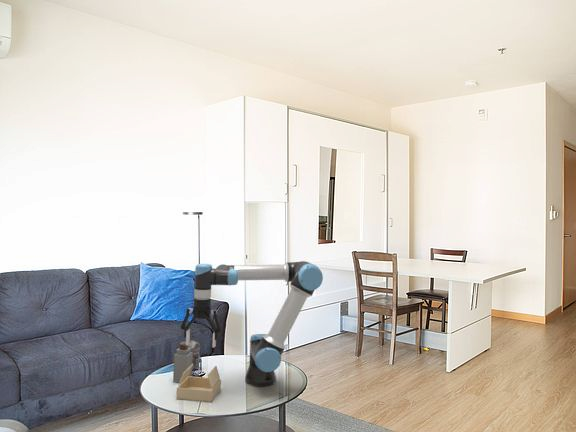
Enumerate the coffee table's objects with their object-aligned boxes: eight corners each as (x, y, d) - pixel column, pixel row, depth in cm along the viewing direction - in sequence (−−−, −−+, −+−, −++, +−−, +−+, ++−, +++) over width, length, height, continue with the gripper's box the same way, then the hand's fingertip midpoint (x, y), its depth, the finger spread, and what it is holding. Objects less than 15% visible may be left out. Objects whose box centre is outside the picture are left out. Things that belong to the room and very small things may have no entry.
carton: (220, 389, 222) (221, 379, 222) (211, 402, 208) (211, 391, 207) (187, 386, 224) (188, 376, 224) (176, 399, 210) (176, 387, 210)
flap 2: (219, 378, 221) (220, 377, 221) (211, 388, 209) (212, 388, 208) (215, 365, 222) (216, 365, 222) (207, 375, 209) (208, 374, 209)
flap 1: (193, 363, 223) (192, 363, 223) (183, 373, 210) (183, 372, 210) (188, 375, 223) (188, 375, 223) (178, 385, 210) (178, 385, 210)
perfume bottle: (186, 384, 228) (187, 346, 227) (173, 382, 229) (174, 345, 229) (191, 379, 234) (193, 343, 234) (178, 377, 236) (180, 341, 235)
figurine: (189, 374, 242) (191, 344, 241) (173, 369, 247) (174, 340, 247) (202, 368, 250) (204, 340, 250) (186, 364, 256) (187, 336, 256)
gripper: (230, 298, 218) (228, 345, 218) (180, 295, 221) (178, 341, 221) (226, 301, 210) (224, 350, 211) (174, 297, 213) (172, 345, 214)
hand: (200, 345), depth 216 cm, fingers open, 12 cm apart
